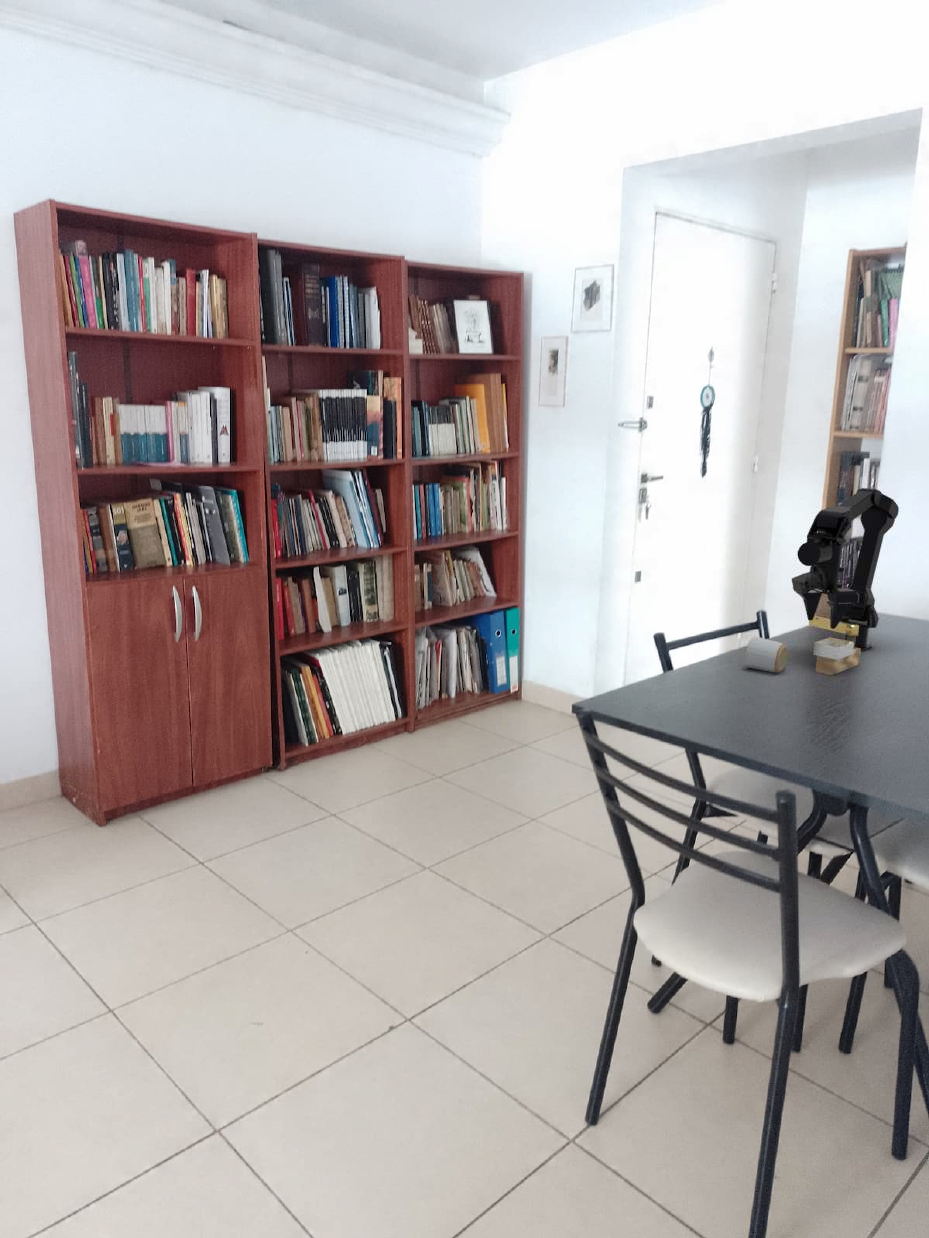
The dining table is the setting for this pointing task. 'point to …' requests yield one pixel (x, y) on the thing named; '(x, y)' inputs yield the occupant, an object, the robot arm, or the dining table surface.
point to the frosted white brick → (833, 648)
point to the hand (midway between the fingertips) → (821, 624)
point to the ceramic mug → (766, 655)
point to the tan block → (838, 661)
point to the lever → (841, 627)
